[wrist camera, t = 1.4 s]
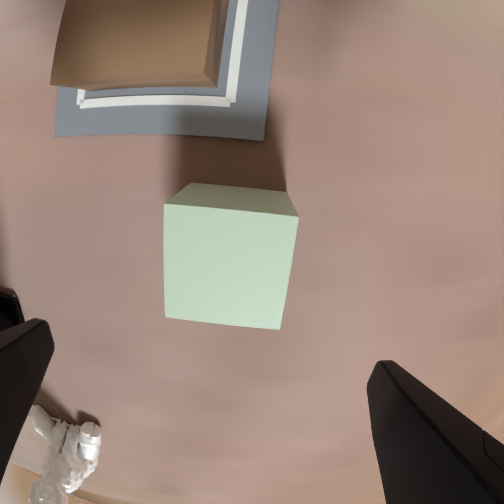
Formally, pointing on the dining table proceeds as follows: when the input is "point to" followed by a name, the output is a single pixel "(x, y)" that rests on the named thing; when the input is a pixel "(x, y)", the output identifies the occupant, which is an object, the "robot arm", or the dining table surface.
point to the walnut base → (139, 44)
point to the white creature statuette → (63, 457)
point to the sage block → (228, 254)
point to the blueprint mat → (189, 90)
